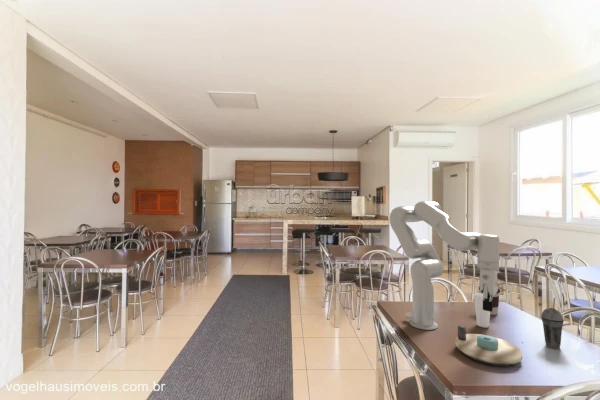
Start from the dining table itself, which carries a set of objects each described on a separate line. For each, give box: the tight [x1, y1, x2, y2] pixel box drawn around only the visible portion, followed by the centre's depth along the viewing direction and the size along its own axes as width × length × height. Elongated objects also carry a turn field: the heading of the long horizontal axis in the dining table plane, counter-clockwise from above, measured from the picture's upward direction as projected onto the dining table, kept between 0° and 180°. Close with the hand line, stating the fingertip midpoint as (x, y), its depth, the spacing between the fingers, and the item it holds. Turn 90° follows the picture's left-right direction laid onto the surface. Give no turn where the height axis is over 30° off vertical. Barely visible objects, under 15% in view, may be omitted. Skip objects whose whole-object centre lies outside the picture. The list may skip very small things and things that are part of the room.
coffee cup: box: [478, 285, 501, 316], centre depth 164 cm, size 10×10×15 cm
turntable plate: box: [455, 324, 523, 365], centre depth 118 cm, size 22×22×6 cm
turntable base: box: [463, 353, 514, 367], centre depth 118 cm, size 18×18×2 cm
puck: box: [477, 334, 498, 351], centre depth 117 cm, size 7×7×3 cm
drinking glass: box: [474, 292, 491, 329], centre depth 146 cm, size 7×7×15 cm
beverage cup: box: [540, 297, 565, 350], centre depth 124 cm, size 7×7×20 cm
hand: (487, 310), depth 122 cm, fingers closed
